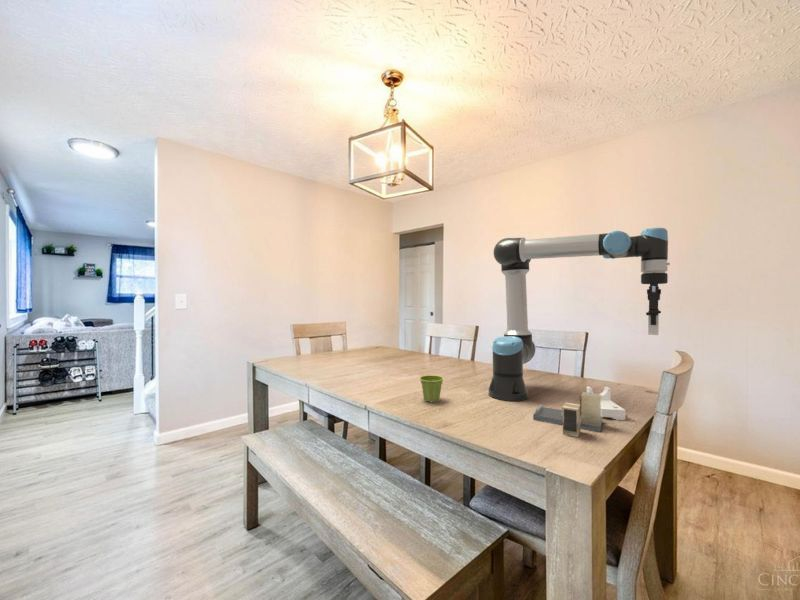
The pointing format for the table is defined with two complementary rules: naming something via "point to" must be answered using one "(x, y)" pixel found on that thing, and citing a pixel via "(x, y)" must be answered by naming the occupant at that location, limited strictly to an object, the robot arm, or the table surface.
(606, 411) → the bracket
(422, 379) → the plant pot
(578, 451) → the table surface
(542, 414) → the grey base stand
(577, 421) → the wooden block
